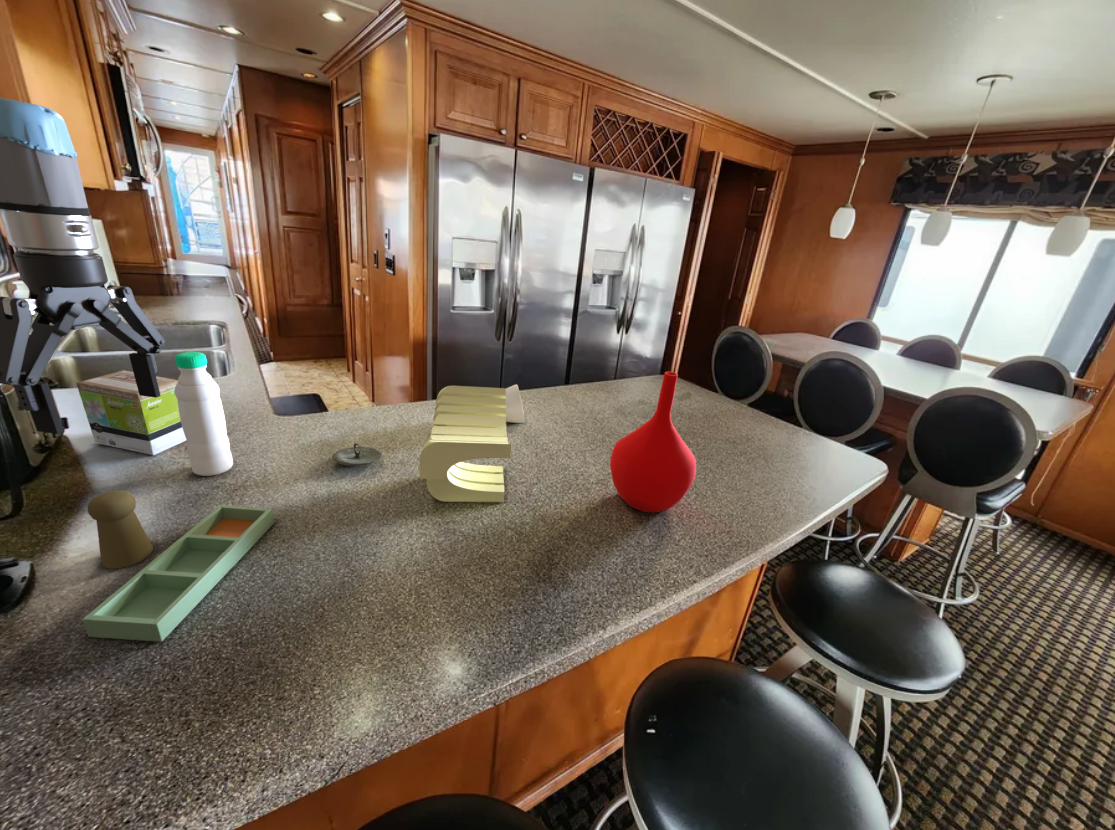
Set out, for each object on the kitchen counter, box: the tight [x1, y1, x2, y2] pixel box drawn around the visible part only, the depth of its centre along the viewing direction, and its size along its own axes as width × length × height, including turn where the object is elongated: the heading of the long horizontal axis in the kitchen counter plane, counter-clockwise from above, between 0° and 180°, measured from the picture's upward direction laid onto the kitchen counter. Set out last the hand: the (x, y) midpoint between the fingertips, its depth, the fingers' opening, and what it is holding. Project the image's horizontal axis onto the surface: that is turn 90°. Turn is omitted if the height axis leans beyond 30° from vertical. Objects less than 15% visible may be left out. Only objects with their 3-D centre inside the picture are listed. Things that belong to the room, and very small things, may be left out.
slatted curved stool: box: [418, 385, 512, 503], centre depth 97 cm, size 30×16×18 cm, turn 8°
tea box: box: [76, 369, 187, 456], centre depth 101 cm, size 15×10×15 cm, turn 81°
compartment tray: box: [81, 504, 275, 643], centre depth 70 cm, size 9×26×3 cm, turn 1°
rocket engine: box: [505, 383, 525, 424], centre depth 133 cm, size 12×12×18 cm
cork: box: [87, 489, 154, 570], centre depth 70 cm, size 6×6×11 cm
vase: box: [609, 371, 697, 514], centre depth 97 cm, size 18×18×30 cm
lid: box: [331, 443, 383, 467], centre depth 104 cm, size 11×10×5 cm
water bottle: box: [174, 351, 234, 477], centre depth 92 cm, size 7×7×25 cm
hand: (105, 412), depth 64 cm, fingers open, 13 cm apart
